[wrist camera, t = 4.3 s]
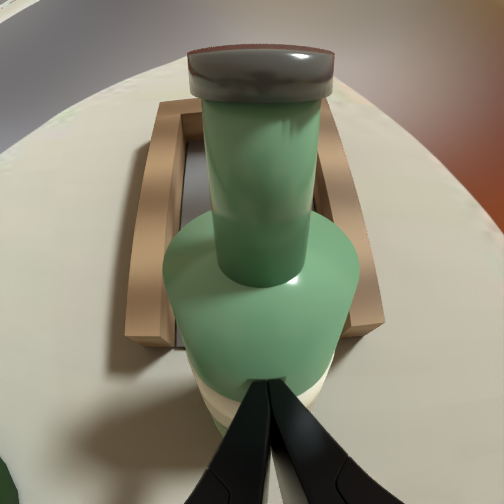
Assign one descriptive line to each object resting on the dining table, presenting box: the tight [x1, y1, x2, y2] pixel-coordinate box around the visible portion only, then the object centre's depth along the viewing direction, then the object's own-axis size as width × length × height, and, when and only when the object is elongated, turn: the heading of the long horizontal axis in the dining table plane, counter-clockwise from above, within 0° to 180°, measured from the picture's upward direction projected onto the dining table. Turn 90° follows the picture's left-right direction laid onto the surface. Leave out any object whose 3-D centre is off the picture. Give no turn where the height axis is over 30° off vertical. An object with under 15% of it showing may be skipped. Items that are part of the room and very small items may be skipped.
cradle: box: [125, 97, 385, 347], centre depth 22 cm, size 19×14×4 cm
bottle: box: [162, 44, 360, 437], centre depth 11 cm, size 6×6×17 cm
